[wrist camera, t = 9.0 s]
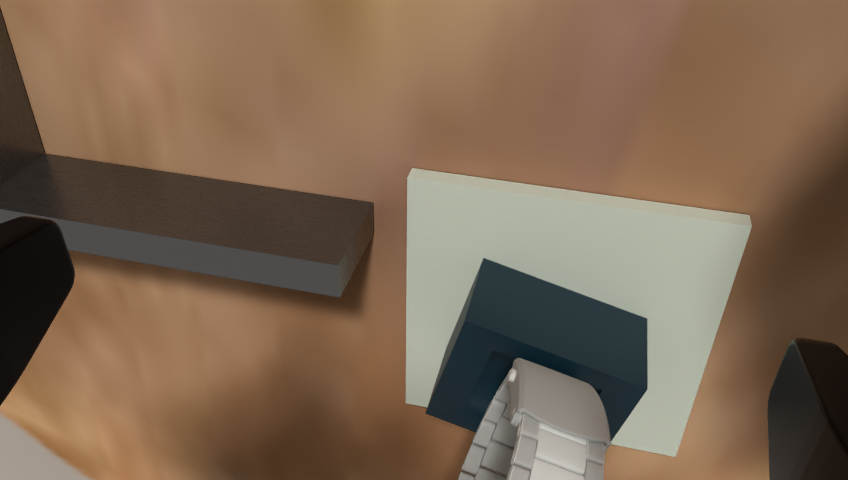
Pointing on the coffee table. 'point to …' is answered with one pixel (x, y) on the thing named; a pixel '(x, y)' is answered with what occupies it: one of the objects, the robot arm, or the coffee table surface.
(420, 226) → the pad
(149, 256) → the grey u-shaped piece
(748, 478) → the coffee table surface
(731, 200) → the coffee table surface
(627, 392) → the watch
